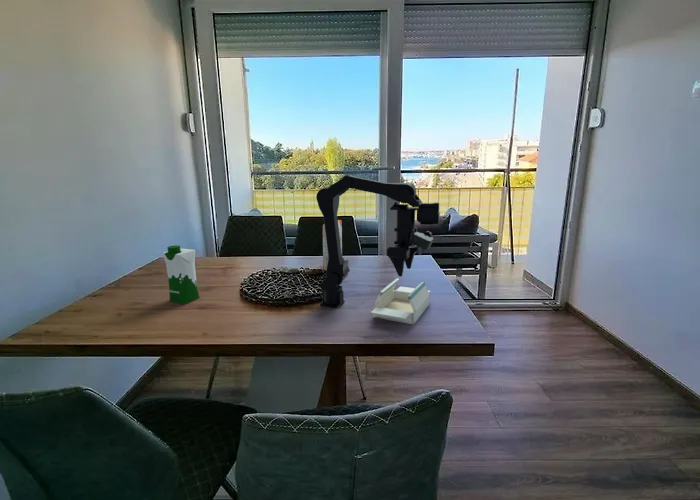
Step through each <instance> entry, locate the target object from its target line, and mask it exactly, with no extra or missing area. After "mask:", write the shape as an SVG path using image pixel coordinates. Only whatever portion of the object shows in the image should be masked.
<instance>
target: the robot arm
mask: <svg viewBox="0 0 700 500" xmlns="http://www.w3.org/2000/svg"><path fill="white" fill-rule="evenodd" d="M350 189H351V190H352V189H353V190H358V191H362V192H368V193H372V194H376V195H381V196H386V197H387V198H390V199H391V200H394V201H395V202H394V203H393V205H392V206H391V207H390V208H389V209H390V211H396V221H395V222H396V227H394V232H396V233H395V234H396V236H395V237H396V238H395V240H394V241H393V242H394V243H393V244H392V245H390V246H389V247H388V248H387V249H386V256H387V257H388V259H389V260H390V261H391V264H392V265H393V268H394V270H395V271H396V273H397V276H398V277H403V274H404V268H405V266H406V269H408V270H409V269H411V268H412V265H413V261H414V259H415V255H416V252H417V251H418V250H419V249H420V248H421V249H422V250H424V251H428V250H429V249H430V248H431V247H432V244H433V242H434V237H433V233H432V232H431V231H429V230H427V231H426V232H424V233H423V232H419V231H418V227H417V226H416V222H418V223H419V224H420V225H423V226H439V225H440V219H441V218H440V217H441V212H440V202H423V201H422V200H421V199H420V197H419V196H418V194H417V189H416V187H415V185H414V184H412V183H410V182H385V181H379V180H374V179H369V178H365V177H359V176H355V175H352V174H345V175H343V176H342V177H341V179H339V180H338V181H336V182H335V183H333V184H331V185H330V186H328V187H324V188H320V189H319V190H318V191H317V193H316V195H315V196H316V202H317V205H318V208H319V211H320V212H321V214H322V217H323V224H325V232H326V240H327V249H328V257H329V259H328V264H327V271H325V272H326V273H325V274H326V276H325V277H326V278H325V279H324V280H322V281H321V282H320V283H319V286H320V289H321V297H322V301H321V302H320V303H319V305H320V306H324V307H330V308H338V307H339V306H341V305H342V304H344V303H345V302H346V301H345V300H344V290H343V286H342V285H341V284H342V283H343V281H345V280H346V279H347V277H348V275H349V272H351V271H350V267H349V259H346V260H345V259H344V257H343V252H342V253H341V244H340V236H339V227H338V220H339V219H338V211H339V207H340V197H341V196H342V195H343V194H345V193H346V192H348V190H350ZM398 202H399V203H398ZM400 203H401V204H400Z"/></svg>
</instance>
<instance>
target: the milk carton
mask: <svg viewBox="0 0 700 500" xmlns="http://www.w3.org/2000/svg"><path fill="white" fill-rule="evenodd" d="M166 247H167V248H166V249H167V251H164V252H162V257H163V259H164V262H165V265H166V272H167V273H166V274H167V282H168V288H169V289H168V291H169V302H170V303H174V304H180V305H186V304H188V303H190V302H193V301H196V300H197V299H200V294H199V289H198V284H197V283H198V282H197V274H196V272H197V271H196V264H195V263H196V262H195V260H196V259H195V257H196V249H190V248H189V249H188V248H181V245H170V246H166Z"/></svg>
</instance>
